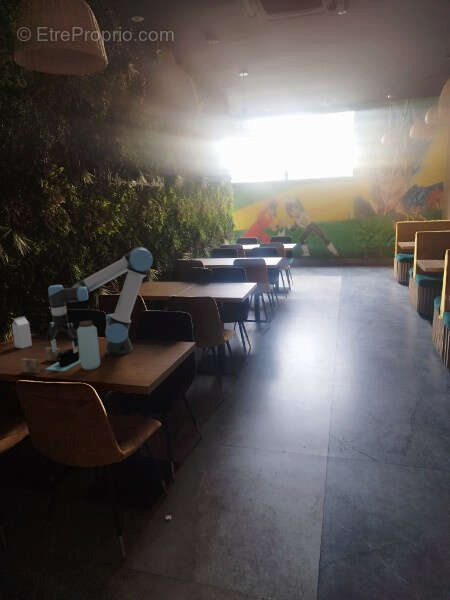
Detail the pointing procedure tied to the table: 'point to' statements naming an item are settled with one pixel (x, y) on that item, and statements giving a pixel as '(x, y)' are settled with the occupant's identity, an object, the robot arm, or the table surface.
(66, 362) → the camera
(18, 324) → the milk carton
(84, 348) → the water bottle
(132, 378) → the table surface
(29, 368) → the slot block
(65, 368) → the mat
